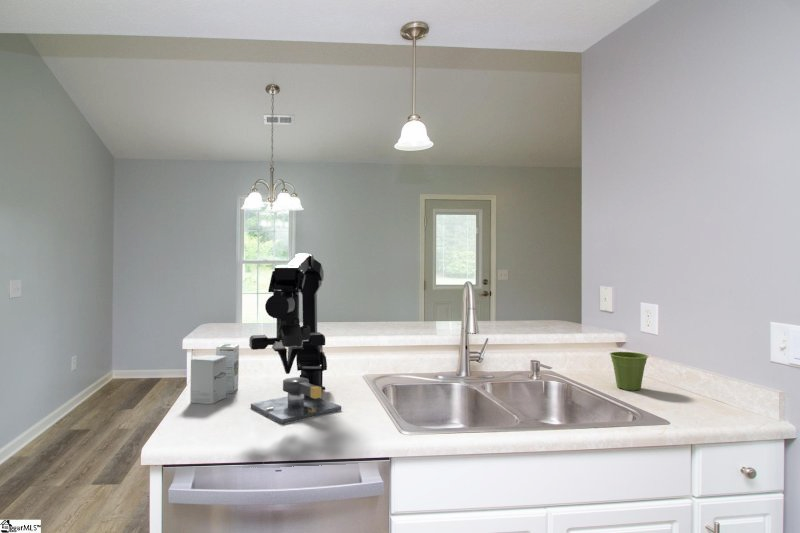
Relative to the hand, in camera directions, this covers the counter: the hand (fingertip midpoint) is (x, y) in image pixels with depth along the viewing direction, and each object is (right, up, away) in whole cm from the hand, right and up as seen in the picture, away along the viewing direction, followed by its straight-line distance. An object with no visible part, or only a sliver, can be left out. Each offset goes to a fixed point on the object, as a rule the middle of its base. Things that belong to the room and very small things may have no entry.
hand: (287, 373), depth 128 cm
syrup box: (-25, -12, +26) cm, 38 cm away
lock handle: (+3, -6, +5) cm, 9 cm away
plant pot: (+105, -13, +35) cm, 112 cm away
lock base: (0, -12, +8) cm, 14 cm away
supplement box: (-27, -12, +16) cm, 33 cm away
